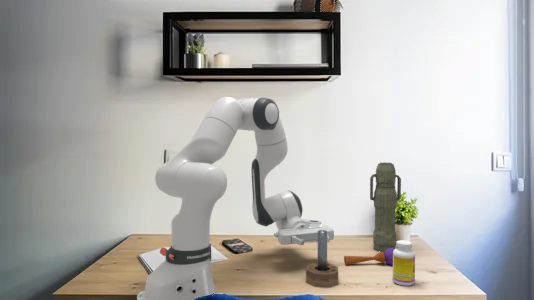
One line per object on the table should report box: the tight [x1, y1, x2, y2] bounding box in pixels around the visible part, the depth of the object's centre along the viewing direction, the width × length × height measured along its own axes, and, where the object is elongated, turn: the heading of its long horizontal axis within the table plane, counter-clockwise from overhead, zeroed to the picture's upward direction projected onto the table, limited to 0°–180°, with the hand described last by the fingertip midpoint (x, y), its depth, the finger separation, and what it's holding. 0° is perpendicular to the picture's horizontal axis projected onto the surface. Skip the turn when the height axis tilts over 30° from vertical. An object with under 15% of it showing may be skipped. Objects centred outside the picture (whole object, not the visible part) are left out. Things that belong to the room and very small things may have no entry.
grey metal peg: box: [317, 230, 328, 271], centre depth 123 cm, size 3×3×16 cm
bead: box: [305, 262, 339, 288], centre depth 123 cm, size 10×10×4 cm
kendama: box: [343, 248, 395, 266], centre depth 138 cm, size 6×6×20 cm
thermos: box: [369, 162, 402, 253], centre depth 155 cm, size 9×12×35 cm
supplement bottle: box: [392, 239, 416, 287], centre depth 122 cm, size 7×7×13 cm
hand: (314, 241), depth 128 cm, fingers open, 8 cm apart
